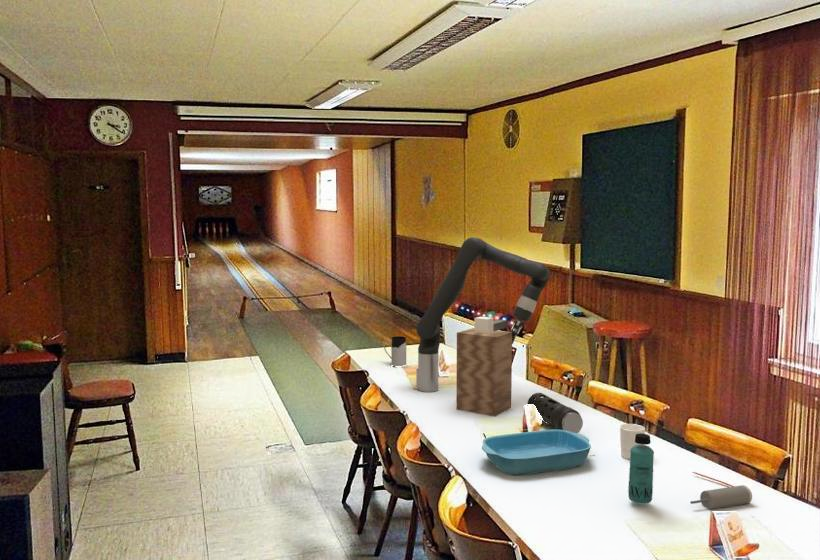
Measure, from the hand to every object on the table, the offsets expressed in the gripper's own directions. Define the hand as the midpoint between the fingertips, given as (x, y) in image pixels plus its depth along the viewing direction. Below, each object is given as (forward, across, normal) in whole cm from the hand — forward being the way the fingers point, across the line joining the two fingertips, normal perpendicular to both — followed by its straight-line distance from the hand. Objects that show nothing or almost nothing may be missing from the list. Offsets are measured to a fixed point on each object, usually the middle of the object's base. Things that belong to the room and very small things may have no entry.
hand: (509, 344), depth 296 cm
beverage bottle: (+25, +91, +53) cm, 108 cm away
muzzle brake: (+22, +24, +28) cm, 43 cm away
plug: (-2, +4, -9) cm, 10 cm away
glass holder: (+36, -70, -52) cm, 94 cm away
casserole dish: (+32, +62, +25) cm, 74 cm away
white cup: (+17, +52, +53) cm, 76 cm away
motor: (+16, +79, +70) cm, 106 cm away
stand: (+29, +4, +1) cm, 29 cm away
